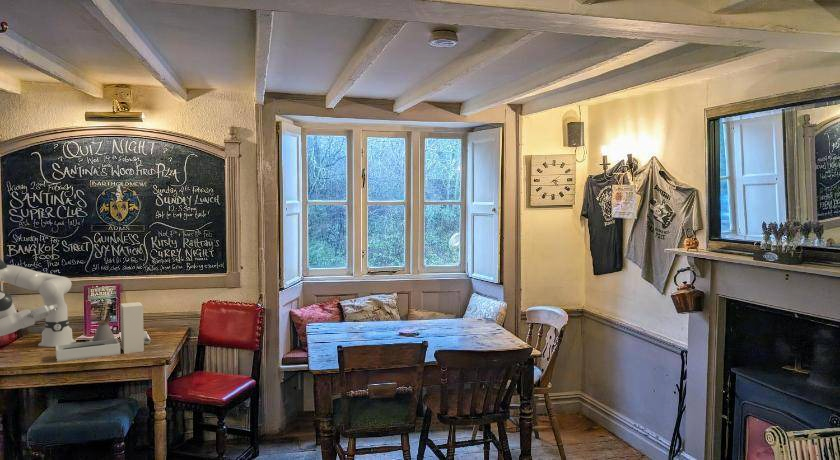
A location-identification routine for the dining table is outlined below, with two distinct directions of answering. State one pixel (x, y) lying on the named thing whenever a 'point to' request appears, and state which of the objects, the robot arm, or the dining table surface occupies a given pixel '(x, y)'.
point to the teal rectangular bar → (83, 346)
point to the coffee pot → (103, 330)
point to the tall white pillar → (132, 327)
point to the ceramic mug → (146, 338)
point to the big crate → (87, 350)
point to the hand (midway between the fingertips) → (57, 306)
